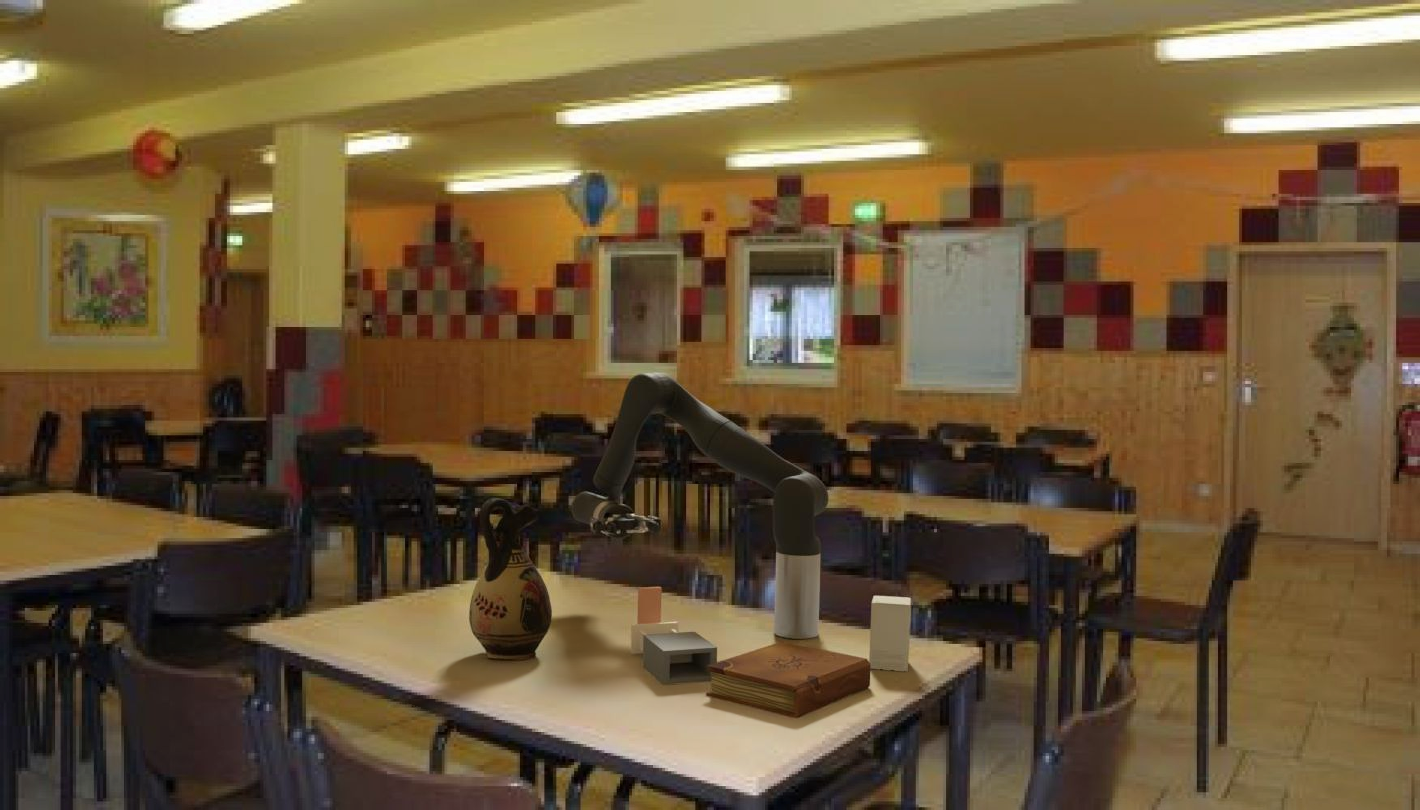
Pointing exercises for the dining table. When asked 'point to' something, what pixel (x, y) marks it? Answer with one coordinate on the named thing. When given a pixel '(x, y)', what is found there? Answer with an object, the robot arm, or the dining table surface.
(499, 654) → the ceramic jug
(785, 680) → the diary
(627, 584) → the dining table surface
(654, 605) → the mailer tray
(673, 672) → the sleeve
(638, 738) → the dining table surface
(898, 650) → the supplement box
